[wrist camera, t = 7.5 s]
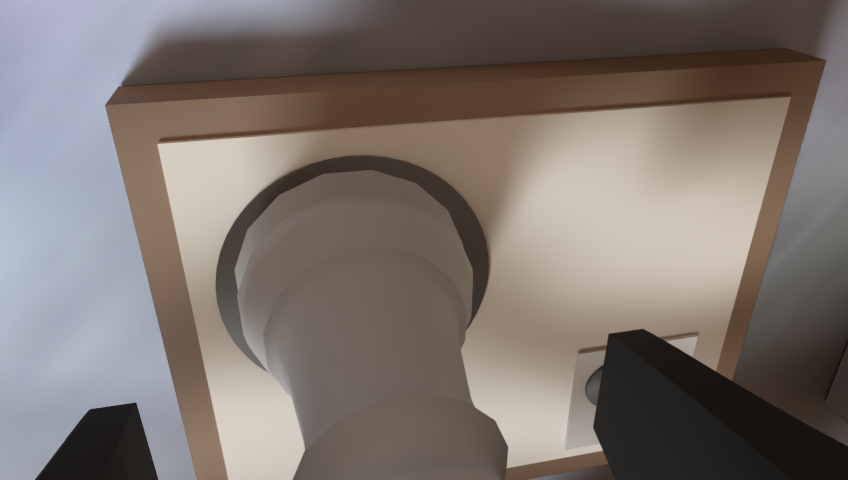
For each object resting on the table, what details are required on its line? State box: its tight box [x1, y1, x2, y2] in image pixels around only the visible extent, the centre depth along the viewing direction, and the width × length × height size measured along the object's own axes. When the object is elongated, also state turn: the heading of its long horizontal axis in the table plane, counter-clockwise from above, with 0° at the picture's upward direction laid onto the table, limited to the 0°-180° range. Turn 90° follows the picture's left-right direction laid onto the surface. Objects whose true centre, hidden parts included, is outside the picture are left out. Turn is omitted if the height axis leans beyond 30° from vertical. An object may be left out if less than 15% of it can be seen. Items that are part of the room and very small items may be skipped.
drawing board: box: [105, 48, 826, 480], centre depth 15 cm, size 11×14×2 cm
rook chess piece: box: [235, 170, 508, 480], centre depth 9 cm, size 4×4×8 cm
